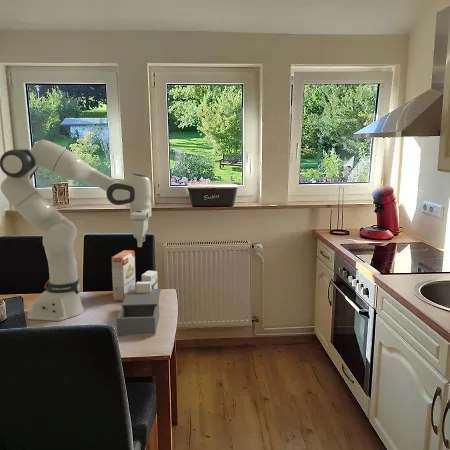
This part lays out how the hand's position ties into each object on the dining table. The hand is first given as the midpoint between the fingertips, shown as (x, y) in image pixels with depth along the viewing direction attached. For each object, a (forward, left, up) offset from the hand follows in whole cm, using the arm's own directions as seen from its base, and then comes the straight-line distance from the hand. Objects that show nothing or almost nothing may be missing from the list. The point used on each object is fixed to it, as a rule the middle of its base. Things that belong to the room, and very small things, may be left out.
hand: (141, 244), depth 178 cm
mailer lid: (+1, -8, -21) cm, 23 cm away
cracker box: (-10, +15, -29) cm, 34 cm away
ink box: (+2, +13, -29) cm, 32 cm away
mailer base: (+1, -19, -29) cm, 34 cm away
